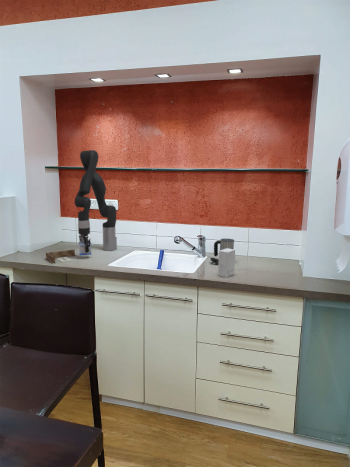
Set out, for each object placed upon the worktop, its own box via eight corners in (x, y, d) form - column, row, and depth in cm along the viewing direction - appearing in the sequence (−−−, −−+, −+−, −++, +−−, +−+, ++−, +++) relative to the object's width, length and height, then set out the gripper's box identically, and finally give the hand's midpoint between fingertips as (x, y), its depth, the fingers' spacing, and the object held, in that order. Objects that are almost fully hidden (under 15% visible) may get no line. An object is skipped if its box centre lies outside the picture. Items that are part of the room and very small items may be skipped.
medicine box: (79, 255, 230) (78, 243, 229) (79, 254, 235) (78, 241, 233) (91, 254, 233) (91, 242, 231) (91, 253, 237) (90, 240, 235)
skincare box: (226, 272, 203) (227, 247, 200) (234, 274, 199) (235, 249, 196) (217, 275, 197) (218, 250, 194) (226, 277, 193) (227, 251, 190)
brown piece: (74, 255, 241) (73, 249, 241) (82, 259, 230) (82, 253, 229) (46, 258, 230) (45, 253, 229) (52, 263, 218) (52, 257, 218)
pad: (66, 257, 235) (66, 256, 235) (72, 260, 226) (72, 260, 226) (56, 258, 231) (56, 258, 231) (61, 262, 222) (61, 261, 222)
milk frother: (234, 260, 231) (235, 238, 228) (231, 266, 216) (232, 243, 213) (213, 258, 235) (214, 237, 232) (208, 264, 220) (209, 241, 217)
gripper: (93, 227, 227) (94, 252, 230) (85, 224, 238) (86, 248, 241) (82, 229, 222) (84, 254, 225) (74, 225, 233) (75, 250, 237)
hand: (85, 251), depth 233 cm, fingers closed on medicine box, 5 cm apart
